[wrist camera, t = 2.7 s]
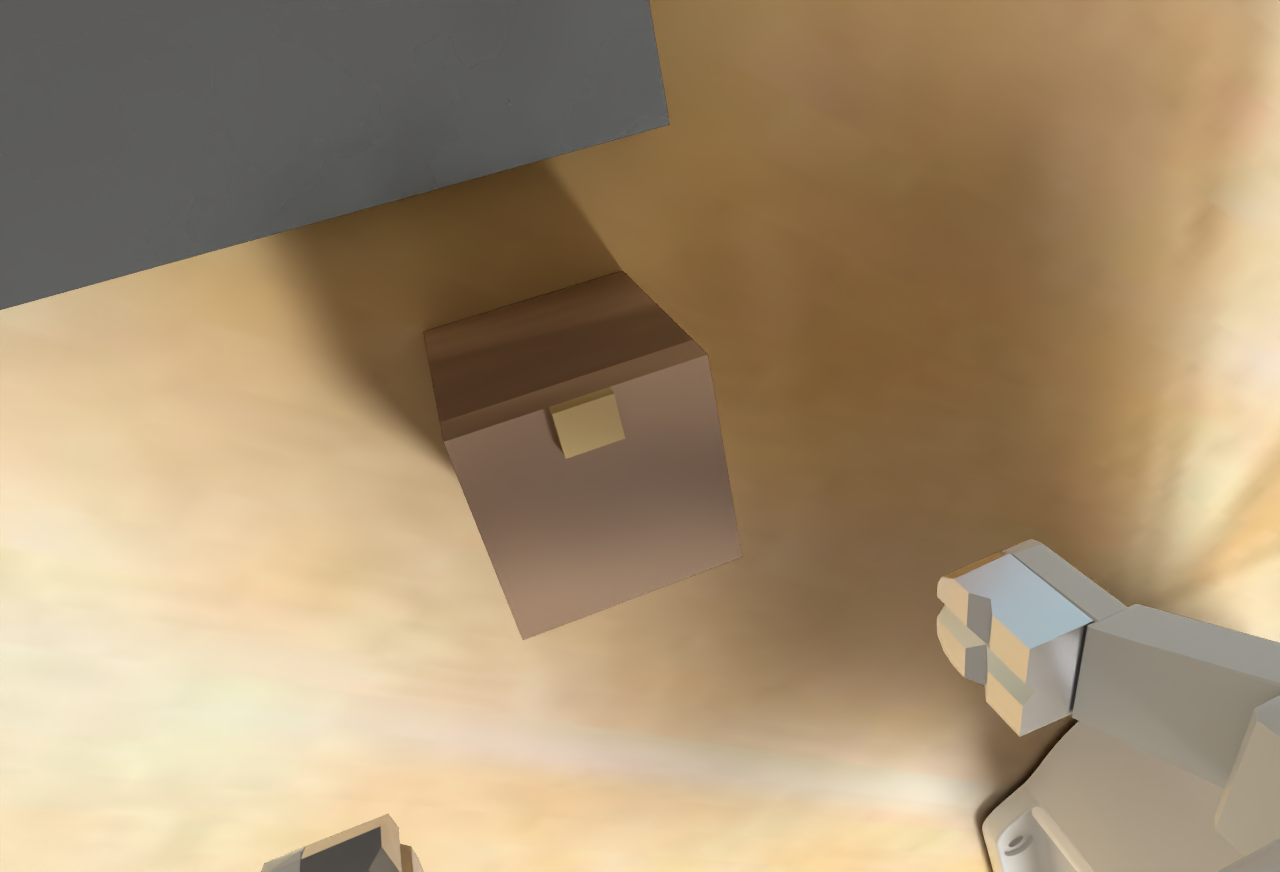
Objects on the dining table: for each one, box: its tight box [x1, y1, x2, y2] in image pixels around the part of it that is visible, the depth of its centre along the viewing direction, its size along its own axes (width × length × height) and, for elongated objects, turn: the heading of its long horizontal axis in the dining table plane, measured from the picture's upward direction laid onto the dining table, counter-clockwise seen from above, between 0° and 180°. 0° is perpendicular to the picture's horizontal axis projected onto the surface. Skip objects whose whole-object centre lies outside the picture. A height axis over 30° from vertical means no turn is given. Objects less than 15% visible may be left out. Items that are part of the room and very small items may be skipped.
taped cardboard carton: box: [424, 271, 742, 640], centre depth 18 cm, size 5×5×6 cm
